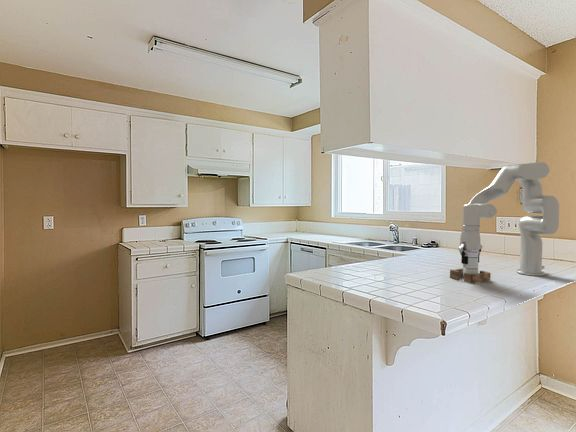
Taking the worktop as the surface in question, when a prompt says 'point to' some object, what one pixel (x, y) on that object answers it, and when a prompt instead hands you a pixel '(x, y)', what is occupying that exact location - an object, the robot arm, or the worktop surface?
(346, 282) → the worktop surface
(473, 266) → the syrup box
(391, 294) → the worktop surface
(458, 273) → the brown joined bars
